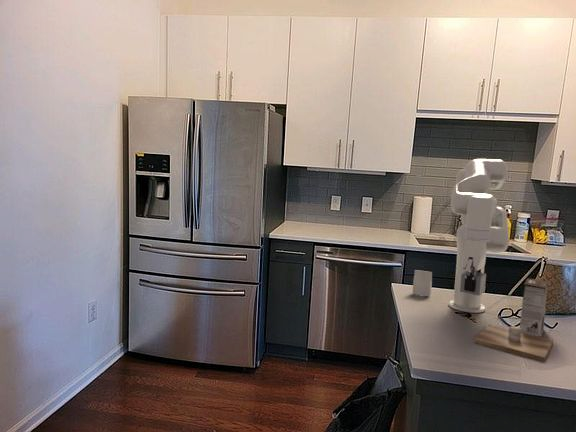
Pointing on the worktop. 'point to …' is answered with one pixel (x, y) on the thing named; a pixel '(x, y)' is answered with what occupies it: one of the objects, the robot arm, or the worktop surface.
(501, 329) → the dock
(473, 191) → the robot arm
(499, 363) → the worktop surface
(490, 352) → the worktop surface
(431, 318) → the worktop surface
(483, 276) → the grey cube
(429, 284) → the grey rectangular block
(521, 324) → the coffee box
